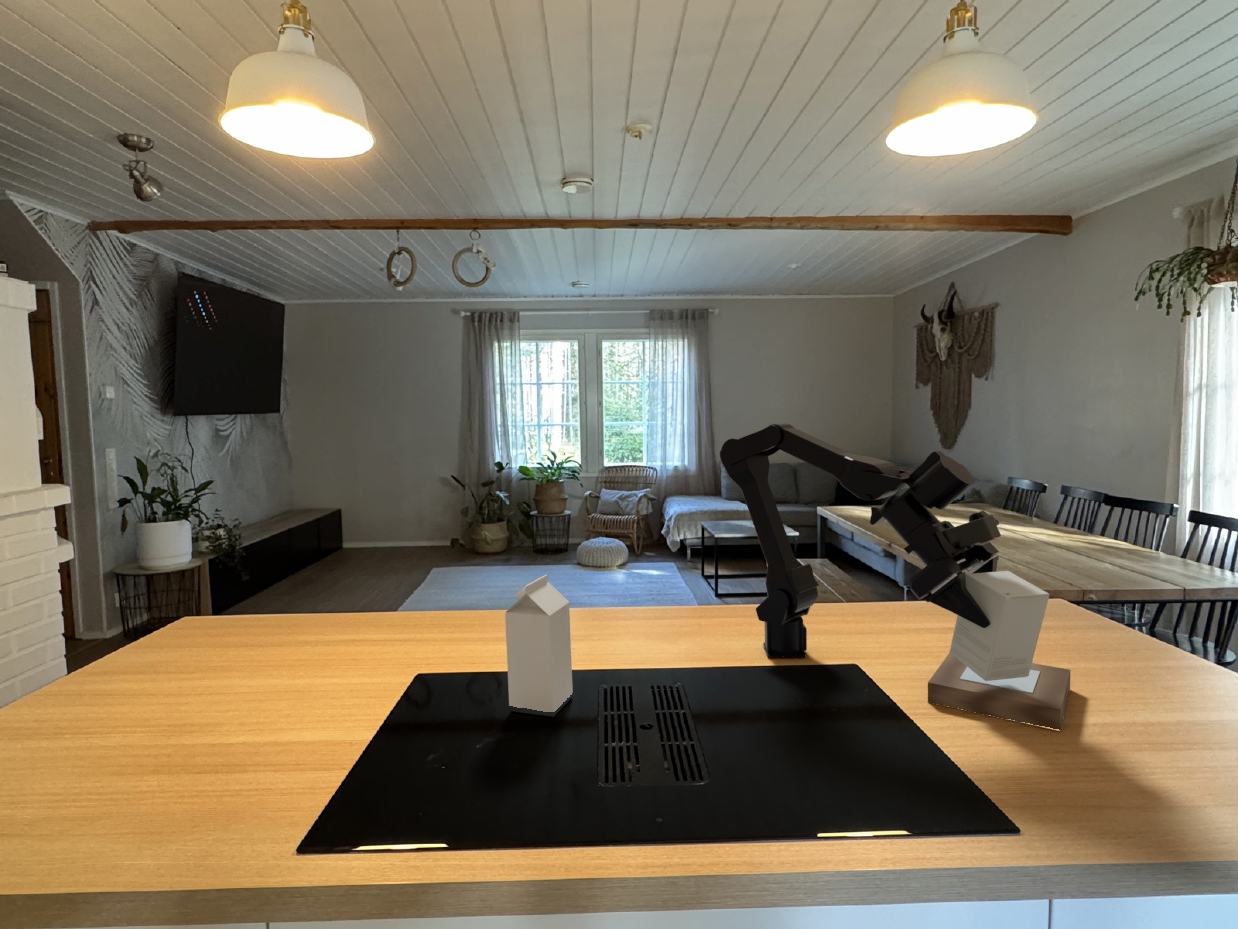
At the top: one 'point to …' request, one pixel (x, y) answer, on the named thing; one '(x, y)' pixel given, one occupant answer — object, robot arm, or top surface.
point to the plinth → (1003, 693)
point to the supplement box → (1000, 626)
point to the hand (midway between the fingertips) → (999, 618)
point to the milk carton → (539, 648)
